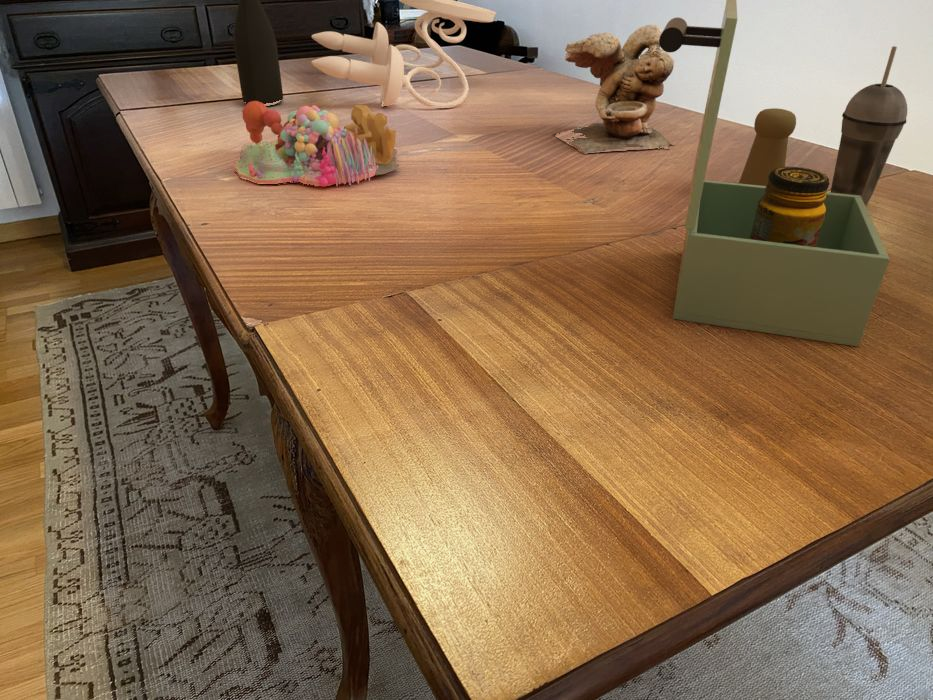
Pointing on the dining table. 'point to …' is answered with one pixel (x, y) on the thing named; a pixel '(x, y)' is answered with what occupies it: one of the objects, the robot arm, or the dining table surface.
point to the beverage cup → (868, 136)
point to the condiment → (791, 207)
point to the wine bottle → (256, 54)
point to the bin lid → (723, 40)
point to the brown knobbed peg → (768, 145)
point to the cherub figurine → (623, 88)
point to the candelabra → (389, 61)
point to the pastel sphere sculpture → (316, 146)
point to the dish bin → (780, 269)
